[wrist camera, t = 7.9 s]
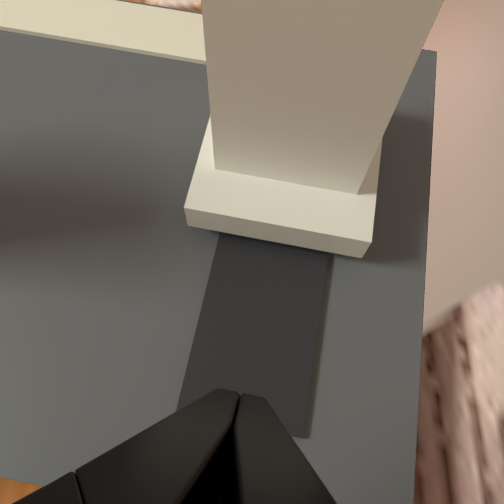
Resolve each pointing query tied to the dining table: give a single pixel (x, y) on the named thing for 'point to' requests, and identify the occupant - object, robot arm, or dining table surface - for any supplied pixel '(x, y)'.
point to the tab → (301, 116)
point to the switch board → (186, 263)
